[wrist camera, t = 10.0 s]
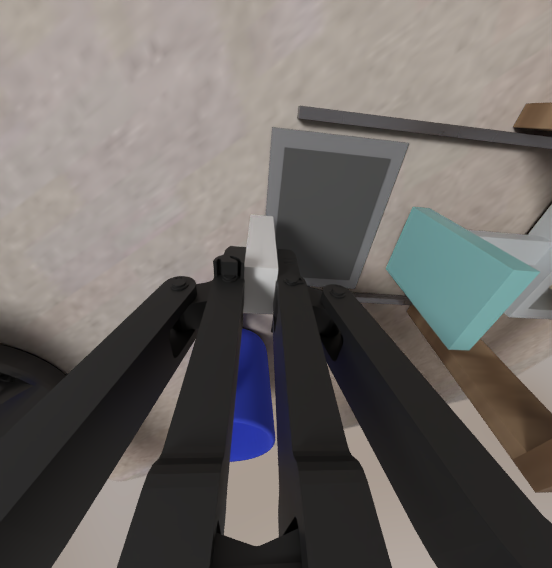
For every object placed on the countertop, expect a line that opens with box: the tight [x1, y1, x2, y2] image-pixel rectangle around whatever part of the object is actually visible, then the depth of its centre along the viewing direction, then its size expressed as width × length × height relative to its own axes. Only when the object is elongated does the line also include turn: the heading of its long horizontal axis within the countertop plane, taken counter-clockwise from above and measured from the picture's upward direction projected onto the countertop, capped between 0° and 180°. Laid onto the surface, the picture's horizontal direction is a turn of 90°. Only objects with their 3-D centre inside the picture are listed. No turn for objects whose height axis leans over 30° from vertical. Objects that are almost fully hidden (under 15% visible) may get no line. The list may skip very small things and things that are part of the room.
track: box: [297, 106, 552, 305], centre depth 19 cm, size 30×15×1 cm, turn 84°
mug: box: [230, 329, 275, 462], centre depth 21 cm, size 8×12×10 cm
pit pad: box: [266, 127, 409, 289], centre depth 18 cm, size 9×12×1 cm
